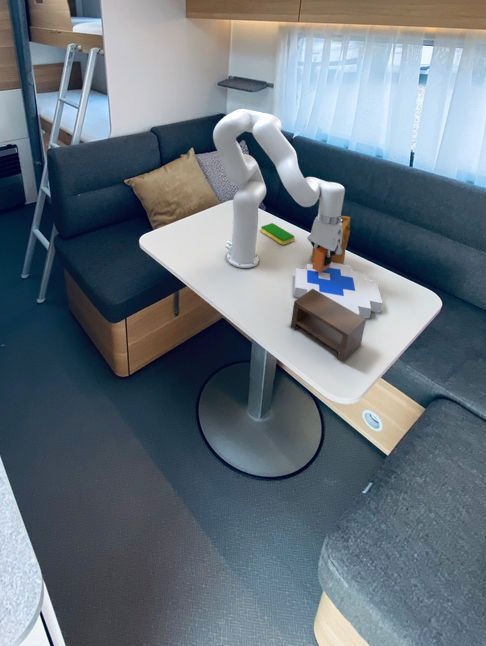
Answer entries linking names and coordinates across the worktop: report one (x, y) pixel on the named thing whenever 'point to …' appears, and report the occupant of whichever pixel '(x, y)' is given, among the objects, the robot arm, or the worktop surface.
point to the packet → (320, 259)
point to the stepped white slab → (340, 287)
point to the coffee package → (345, 236)
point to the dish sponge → (277, 233)
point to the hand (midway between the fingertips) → (321, 261)
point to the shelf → (329, 322)
